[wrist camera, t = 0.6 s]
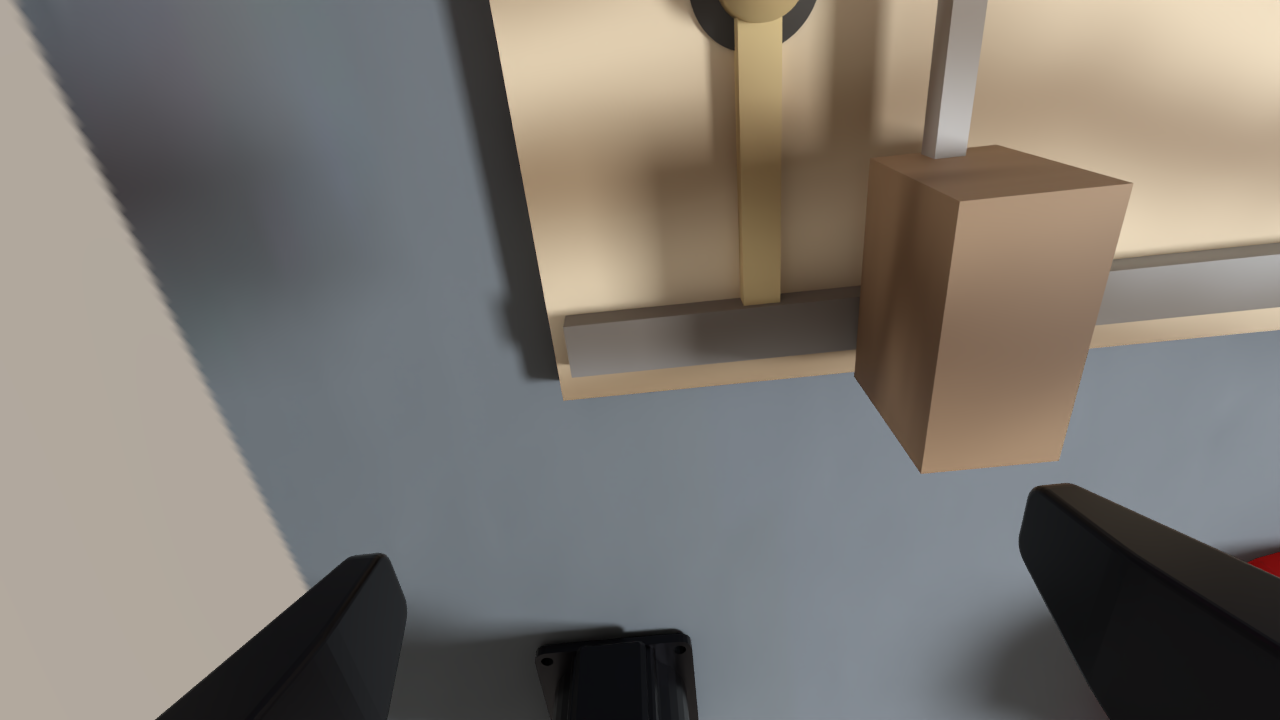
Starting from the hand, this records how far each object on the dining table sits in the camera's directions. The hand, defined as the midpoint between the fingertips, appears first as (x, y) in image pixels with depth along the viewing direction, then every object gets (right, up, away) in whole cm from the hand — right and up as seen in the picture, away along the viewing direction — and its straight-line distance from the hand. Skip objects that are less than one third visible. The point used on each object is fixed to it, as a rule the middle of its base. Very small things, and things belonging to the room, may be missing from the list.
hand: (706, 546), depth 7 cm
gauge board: (+9, +8, +9) cm, 15 cm away
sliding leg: (+6, +7, +8) cm, 12 cm away
